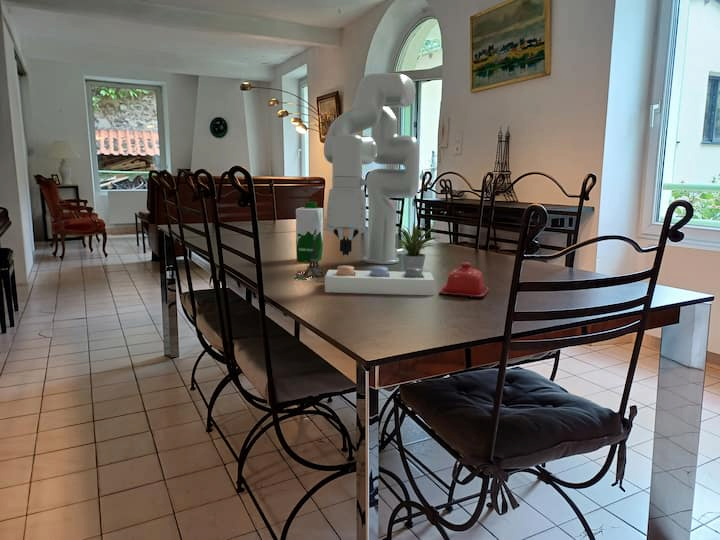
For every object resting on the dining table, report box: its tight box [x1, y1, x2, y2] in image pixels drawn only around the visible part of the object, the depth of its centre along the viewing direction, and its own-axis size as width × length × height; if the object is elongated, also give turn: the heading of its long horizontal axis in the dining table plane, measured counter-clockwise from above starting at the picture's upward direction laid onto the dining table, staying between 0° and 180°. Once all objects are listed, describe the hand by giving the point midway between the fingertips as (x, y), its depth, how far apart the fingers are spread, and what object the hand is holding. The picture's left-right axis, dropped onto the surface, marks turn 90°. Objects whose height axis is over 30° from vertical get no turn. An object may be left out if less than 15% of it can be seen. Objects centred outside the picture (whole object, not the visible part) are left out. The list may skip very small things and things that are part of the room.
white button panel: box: [324, 269, 436, 296], centre depth 138 cm, size 28×10×4 cm, turn 88°
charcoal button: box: [405, 267, 423, 278], centre depth 137 cm, size 4×4×3 cm
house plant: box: [394, 222, 441, 272], centre depth 156 cm, size 14×14×16 cm
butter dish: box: [439, 261, 489, 298], centre depth 136 cm, size 12×12×8 cm
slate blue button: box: [370, 265, 389, 277], centre depth 138 cm, size 4×4×3 cm
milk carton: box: [295, 201, 324, 264], centre depth 178 cm, size 9×9×20 cm
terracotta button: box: [336, 265, 355, 276], centre depth 138 cm, size 4×4×3 cm
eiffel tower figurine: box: [293, 236, 326, 283], centre depth 152 cm, size 15×10×13 cm
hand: (345, 254), depth 137 cm, fingers closed
